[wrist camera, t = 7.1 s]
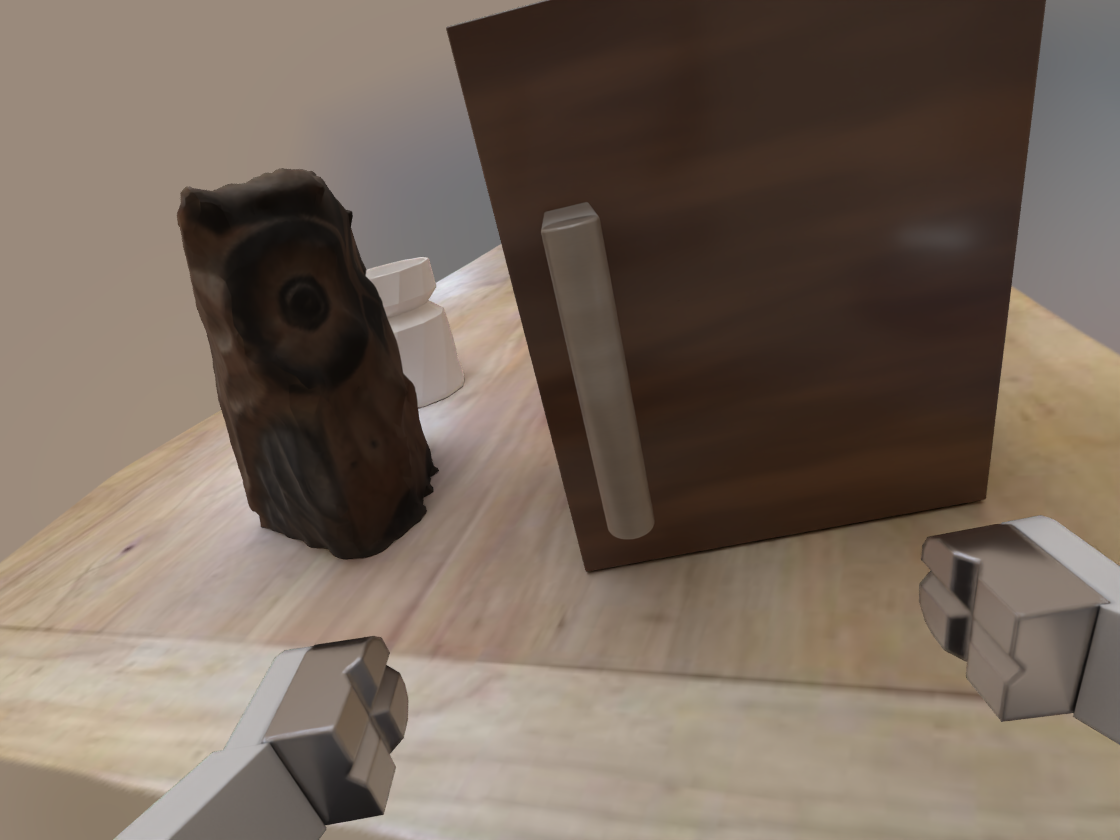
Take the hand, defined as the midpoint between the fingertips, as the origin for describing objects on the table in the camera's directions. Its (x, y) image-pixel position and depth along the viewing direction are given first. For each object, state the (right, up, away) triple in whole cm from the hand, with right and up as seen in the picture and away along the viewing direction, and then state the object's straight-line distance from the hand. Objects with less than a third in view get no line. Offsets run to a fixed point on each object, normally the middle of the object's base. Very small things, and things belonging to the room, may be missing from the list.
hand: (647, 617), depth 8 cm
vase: (-15, +6, +47) cm, 49 cm away
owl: (-15, -3, +29) cm, 33 cm away
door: (+9, -3, +15) cm, 17 cm away
